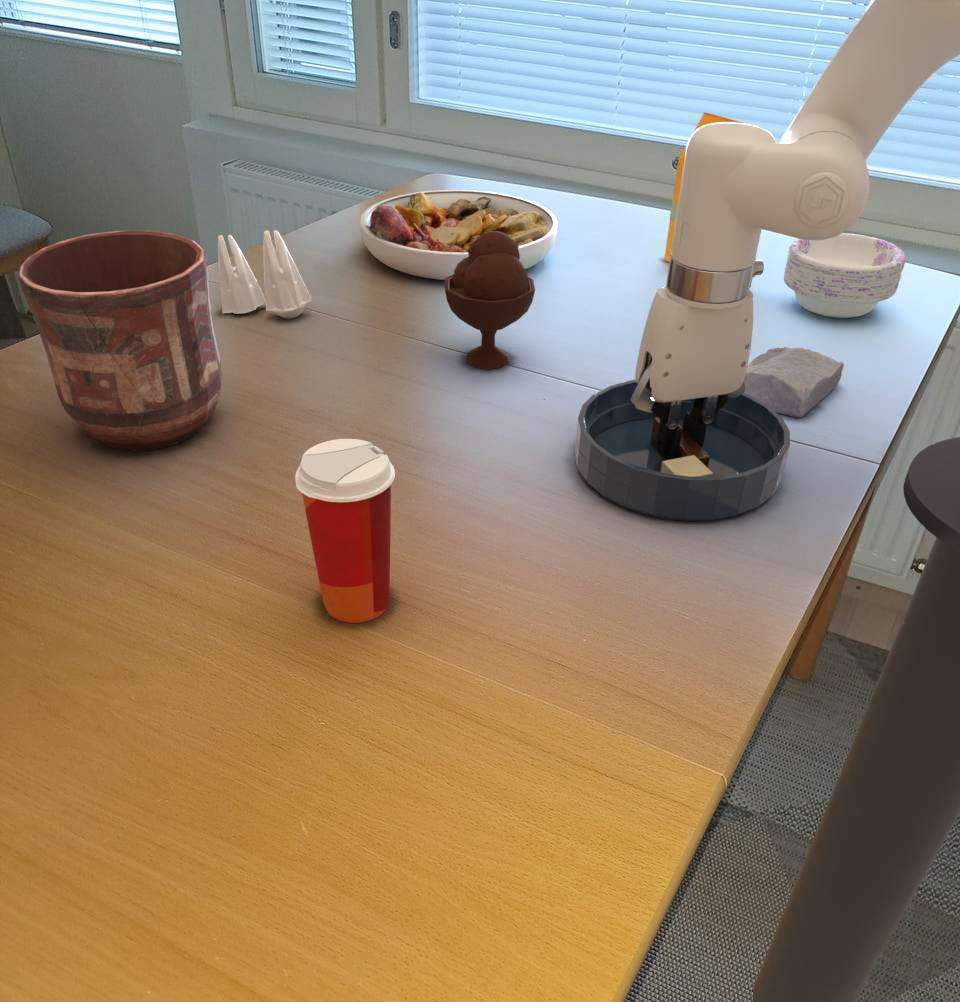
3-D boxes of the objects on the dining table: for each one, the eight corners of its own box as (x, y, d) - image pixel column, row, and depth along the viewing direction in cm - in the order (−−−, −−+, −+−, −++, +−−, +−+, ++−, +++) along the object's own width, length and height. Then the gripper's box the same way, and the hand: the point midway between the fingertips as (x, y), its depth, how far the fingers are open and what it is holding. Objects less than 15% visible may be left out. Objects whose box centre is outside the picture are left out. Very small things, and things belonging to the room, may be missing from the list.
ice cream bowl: (432, 347, 120) (430, 225, 111) (514, 337, 123) (519, 217, 113) (458, 384, 113) (459, 256, 103) (544, 371, 116) (553, 246, 106)
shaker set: (315, 313, 128) (306, 228, 121) (302, 325, 125) (293, 238, 118) (234, 302, 130) (221, 218, 123) (220, 314, 127) (205, 228, 120)
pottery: (235, 457, 99) (205, 286, 87) (59, 473, 96) (4, 299, 84) (231, 382, 112) (205, 224, 100) (77, 394, 109) (30, 233, 97)
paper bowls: (765, 285, 138) (777, 229, 133) (867, 285, 139) (883, 229, 134) (795, 328, 127) (809, 268, 122) (906, 328, 128) (925, 268, 122)
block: (688, 486, 95) (694, 454, 93) (706, 504, 93) (713, 473, 90) (656, 492, 94) (662, 461, 92) (674, 511, 92) (680, 479, 89)
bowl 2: (778, 432, 105) (789, 390, 102) (778, 538, 90) (791, 493, 86) (590, 408, 109) (594, 367, 106) (559, 506, 93) (563, 462, 90)
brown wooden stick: (649, 442, 102) (653, 417, 100) (666, 440, 102) (670, 414, 100) (687, 485, 95) (692, 459, 93) (705, 482, 96) (710, 456, 94)
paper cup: (371, 565, 85) (361, 425, 76) (418, 609, 81) (413, 466, 72) (294, 596, 82) (273, 454, 73) (339, 644, 77) (323, 498, 68)
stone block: (725, 411, 112) (807, 421, 107) (725, 371, 110) (810, 379, 104) (766, 380, 120) (845, 388, 114) (768, 342, 117) (849, 348, 111)
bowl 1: (483, 210, 162) (484, 160, 157) (595, 264, 144) (600, 209, 139) (327, 241, 149) (323, 188, 144) (428, 304, 131) (427, 246, 126)
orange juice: (705, 277, 141) (730, 128, 127) (663, 259, 146) (683, 115, 133) (740, 266, 144) (769, 120, 131) (698, 250, 149) (721, 108, 136)
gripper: (764, 256, 91) (727, 428, 103) (612, 271, 87) (593, 448, 99) (806, 284, 85) (763, 462, 98) (647, 302, 82) (622, 485, 94)
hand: (677, 454), depth 98 cm, fingers closed on brown wooden stick, 1 cm apart
